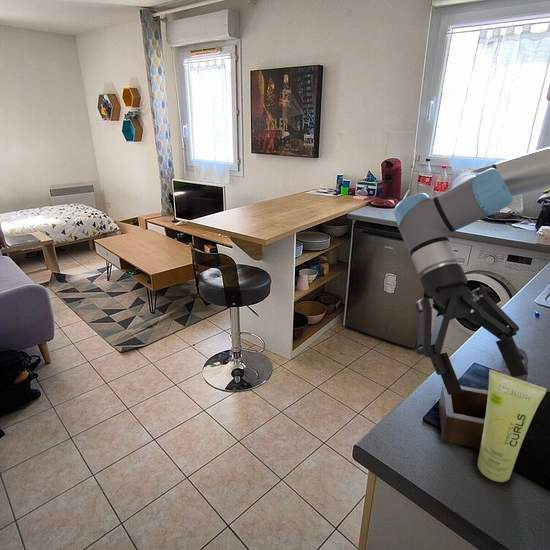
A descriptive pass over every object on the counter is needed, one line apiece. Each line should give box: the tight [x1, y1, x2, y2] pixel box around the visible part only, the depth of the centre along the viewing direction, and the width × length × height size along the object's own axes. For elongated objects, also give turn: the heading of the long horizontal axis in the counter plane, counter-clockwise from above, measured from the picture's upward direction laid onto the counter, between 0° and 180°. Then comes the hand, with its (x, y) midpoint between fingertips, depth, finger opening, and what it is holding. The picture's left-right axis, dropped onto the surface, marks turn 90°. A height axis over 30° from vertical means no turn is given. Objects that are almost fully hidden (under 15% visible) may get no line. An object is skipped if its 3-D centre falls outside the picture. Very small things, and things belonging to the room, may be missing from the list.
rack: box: [438, 382, 488, 450], centre depth 70 cm, size 10×10×6 cm
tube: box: [477, 368, 548, 483], centre depth 59 cm, size 6×5×20 cm
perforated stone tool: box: [499, 347, 529, 382], centre depth 80 cm, size 15×5×7 cm, turn 145°
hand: (488, 384), depth 61 cm, fingers open, 13 cm apart
